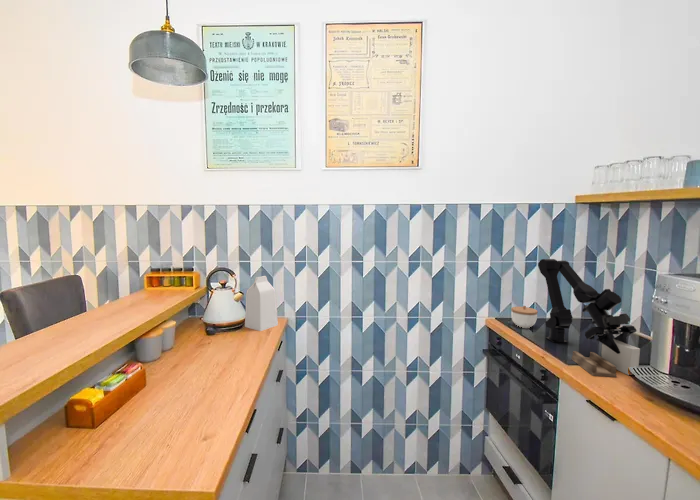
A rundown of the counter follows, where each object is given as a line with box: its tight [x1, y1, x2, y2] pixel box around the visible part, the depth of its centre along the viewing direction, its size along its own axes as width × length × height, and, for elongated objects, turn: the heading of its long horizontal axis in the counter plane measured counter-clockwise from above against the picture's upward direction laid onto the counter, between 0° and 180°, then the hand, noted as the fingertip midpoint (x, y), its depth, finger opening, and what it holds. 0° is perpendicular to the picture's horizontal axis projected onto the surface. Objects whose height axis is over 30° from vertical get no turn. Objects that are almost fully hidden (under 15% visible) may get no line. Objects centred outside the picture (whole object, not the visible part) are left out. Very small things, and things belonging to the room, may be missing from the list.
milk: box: [244, 275, 279, 332], centre depth 179 cm, size 12×12×26 cm
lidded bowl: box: [510, 305, 539, 329], centre depth 185 cm, size 13×13×11 cm
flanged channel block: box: [571, 350, 617, 378], centre depth 133 cm, size 15×8×4 cm, turn 173°
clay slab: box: [600, 338, 641, 376], centre depth 132 cm, size 12×4×10 cm, turn 10°
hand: (623, 353), depth 131 cm, fingers closed on clay slab, 3 cm apart
